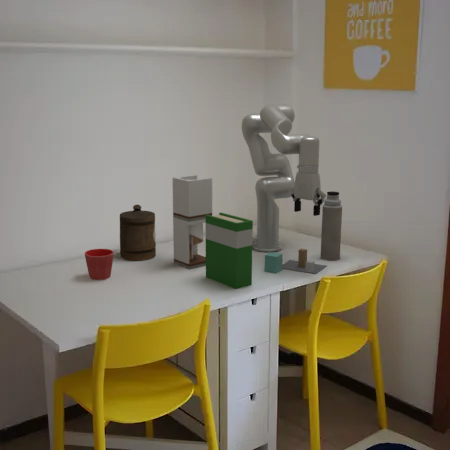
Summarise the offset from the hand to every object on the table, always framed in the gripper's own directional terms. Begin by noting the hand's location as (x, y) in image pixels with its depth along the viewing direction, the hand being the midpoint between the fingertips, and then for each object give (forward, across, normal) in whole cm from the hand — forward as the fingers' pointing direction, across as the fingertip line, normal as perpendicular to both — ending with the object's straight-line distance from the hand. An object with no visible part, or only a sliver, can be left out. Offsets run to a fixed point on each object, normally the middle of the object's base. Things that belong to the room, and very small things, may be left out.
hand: (306, 213), depth 243 cm
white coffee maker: (+22, -34, -30) cm, 50 cm away
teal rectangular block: (+22, -6, -12) cm, 26 cm away
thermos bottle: (+22, -3, +19) cm, 30 cm away
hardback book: (+22, -8, -33) cm, 41 cm away
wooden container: (+22, -58, -40) cm, 74 cm away
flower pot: (+22, -43, -67) cm, 83 cm away
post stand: (+22, -2, 0) cm, 22 cm away
